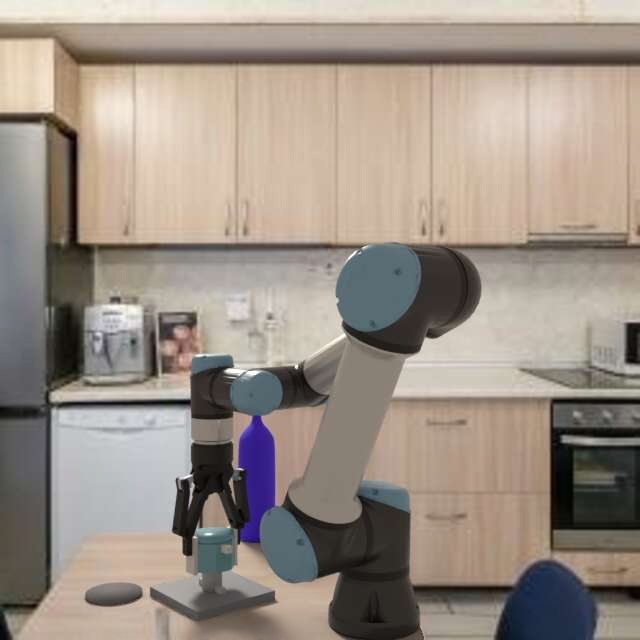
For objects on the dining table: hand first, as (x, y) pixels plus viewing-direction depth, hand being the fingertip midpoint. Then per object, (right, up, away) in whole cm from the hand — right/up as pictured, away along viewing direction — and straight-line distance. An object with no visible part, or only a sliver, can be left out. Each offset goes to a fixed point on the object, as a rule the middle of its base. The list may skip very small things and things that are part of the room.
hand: (212, 568), depth 151 cm
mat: (-18, -5, +1) cm, 18 cm away
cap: (0, 0, 0) cm, 0 cm away
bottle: (+5, -4, +37) cm, 38 cm away
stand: (0, -5, 0) cm, 5 cm away
